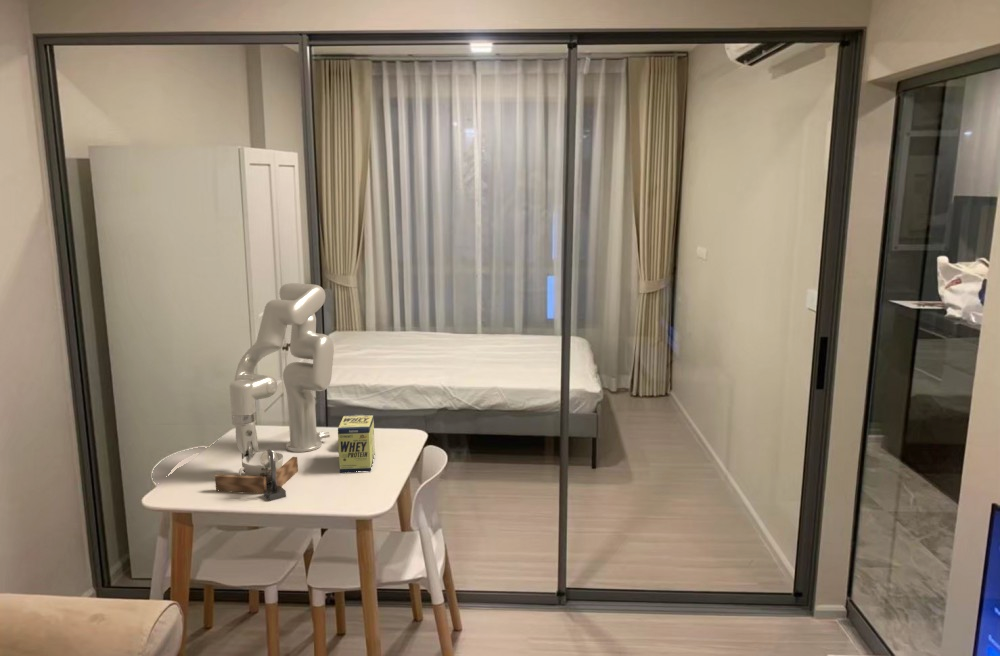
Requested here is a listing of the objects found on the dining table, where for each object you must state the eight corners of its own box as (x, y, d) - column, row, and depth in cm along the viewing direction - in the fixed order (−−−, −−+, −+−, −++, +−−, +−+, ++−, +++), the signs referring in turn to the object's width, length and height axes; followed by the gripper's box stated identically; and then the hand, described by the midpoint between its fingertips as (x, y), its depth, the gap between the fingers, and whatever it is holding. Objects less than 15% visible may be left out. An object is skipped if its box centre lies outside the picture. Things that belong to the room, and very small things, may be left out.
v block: (296, 470, 239) (296, 456, 238) (311, 481, 230) (310, 467, 229) (215, 490, 224) (213, 475, 223) (227, 503, 214) (225, 487, 213)
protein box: (339, 473, 236) (337, 428, 233) (345, 456, 252) (343, 414, 249) (371, 472, 237) (369, 427, 234) (375, 455, 252) (373, 413, 250)
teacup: (269, 470, 239) (268, 448, 237) (292, 480, 231) (291, 457, 230) (228, 483, 227) (227, 460, 226) (250, 494, 219) (249, 470, 218)
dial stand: (279, 490, 223) (276, 447, 220) (286, 496, 218) (283, 453, 216) (262, 494, 220) (259, 451, 217) (269, 501, 215) (266, 457, 213)
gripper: (262, 421, 228) (266, 475, 232) (249, 410, 240) (253, 461, 244) (238, 426, 224) (242, 480, 228) (226, 414, 236) (231, 466, 240)
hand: (248, 470), depth 236 cm, fingers closed
